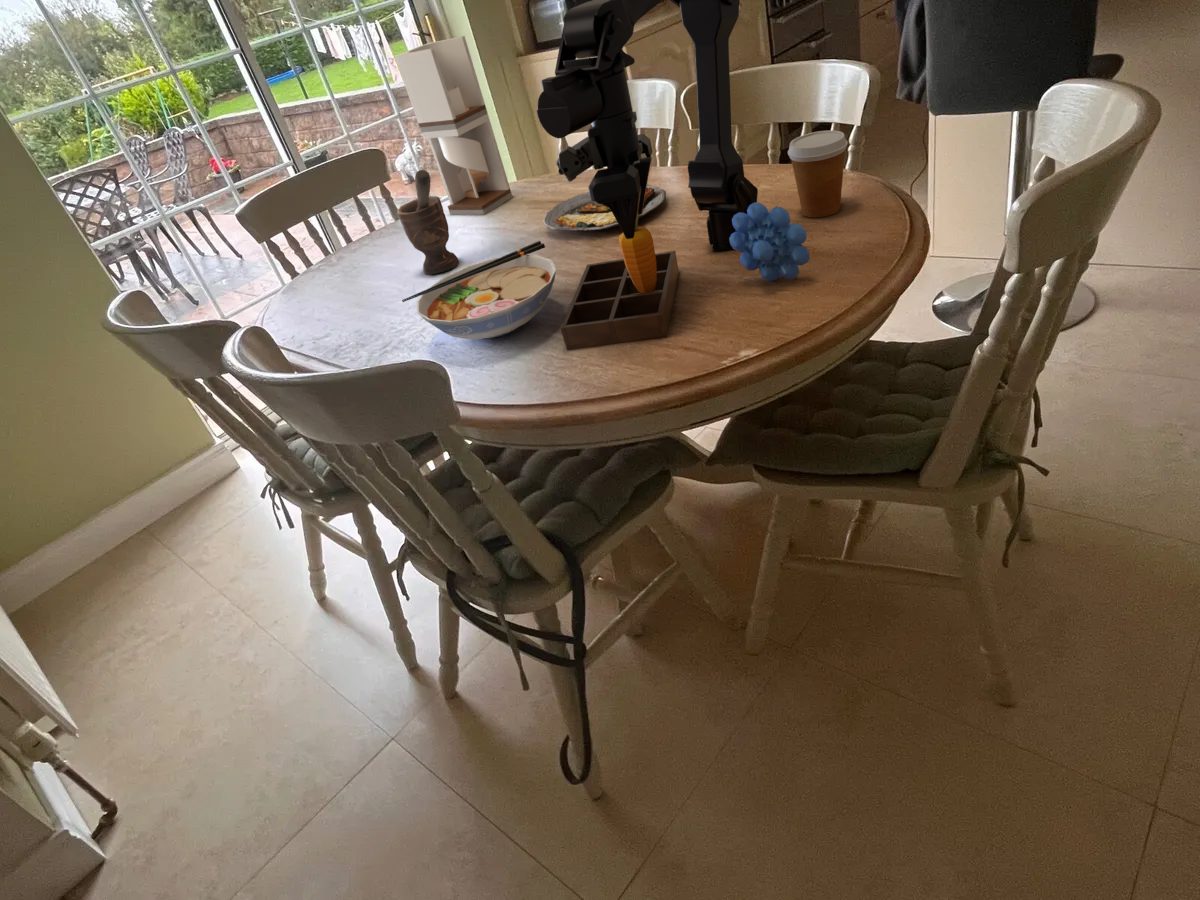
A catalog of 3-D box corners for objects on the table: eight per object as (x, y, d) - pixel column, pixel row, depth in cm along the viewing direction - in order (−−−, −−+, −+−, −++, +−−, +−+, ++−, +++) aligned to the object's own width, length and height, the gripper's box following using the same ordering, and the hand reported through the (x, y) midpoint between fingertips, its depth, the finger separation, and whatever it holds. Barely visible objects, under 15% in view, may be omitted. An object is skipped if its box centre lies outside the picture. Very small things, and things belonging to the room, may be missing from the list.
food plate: (686, 192, 152) (683, 175, 150) (631, 240, 138) (627, 222, 136) (586, 196, 166) (583, 180, 164) (526, 240, 152) (521, 223, 150)
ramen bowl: (444, 384, 109) (424, 335, 104) (413, 332, 127) (395, 288, 122) (596, 321, 114) (583, 272, 110) (545, 279, 132) (532, 235, 128)
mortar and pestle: (481, 258, 149) (447, 157, 138) (455, 278, 144) (417, 174, 132) (439, 258, 155) (403, 161, 144) (412, 277, 150) (373, 178, 138)
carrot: (663, 306, 111) (642, 208, 103) (631, 311, 112) (607, 214, 104) (667, 291, 115) (647, 196, 106) (635, 296, 116) (613, 202, 108)
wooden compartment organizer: (679, 271, 122) (675, 250, 120) (666, 337, 105) (662, 314, 103) (591, 284, 126) (586, 264, 124) (566, 349, 109) (560, 328, 107)
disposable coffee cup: (818, 225, 124) (813, 152, 117) (781, 215, 131) (775, 145, 124) (862, 205, 126) (860, 132, 119) (823, 196, 134) (819, 127, 127)
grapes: (725, 294, 111) (714, 216, 105) (740, 273, 116) (730, 198, 109) (803, 294, 106) (797, 212, 99) (815, 272, 110) (810, 193, 103)
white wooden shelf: (450, 214, 179) (394, 56, 159) (478, 197, 185) (428, 43, 165) (484, 214, 173) (430, 49, 153) (512, 197, 179) (464, 35, 159)
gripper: (567, 107, 108) (592, 211, 117) (537, 144, 93) (568, 261, 102) (642, 90, 105) (661, 199, 114) (623, 126, 90) (648, 248, 99)
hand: (634, 225), depth 107 cm, fingers open, 9 cm apart
